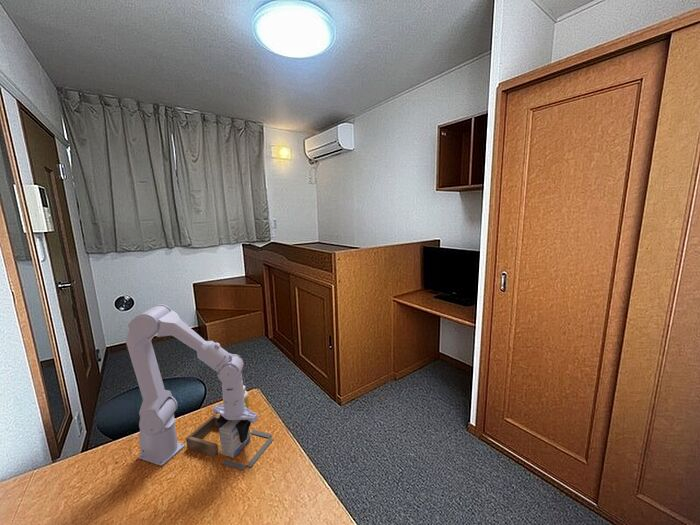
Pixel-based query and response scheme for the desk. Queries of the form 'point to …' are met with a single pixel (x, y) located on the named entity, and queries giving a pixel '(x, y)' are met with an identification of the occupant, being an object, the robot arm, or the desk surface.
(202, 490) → the desk surface
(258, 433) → the frame
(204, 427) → the walnut shelf
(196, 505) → the desk surface
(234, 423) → the medicine box
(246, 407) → the supplement bottle
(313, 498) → the desk surface
